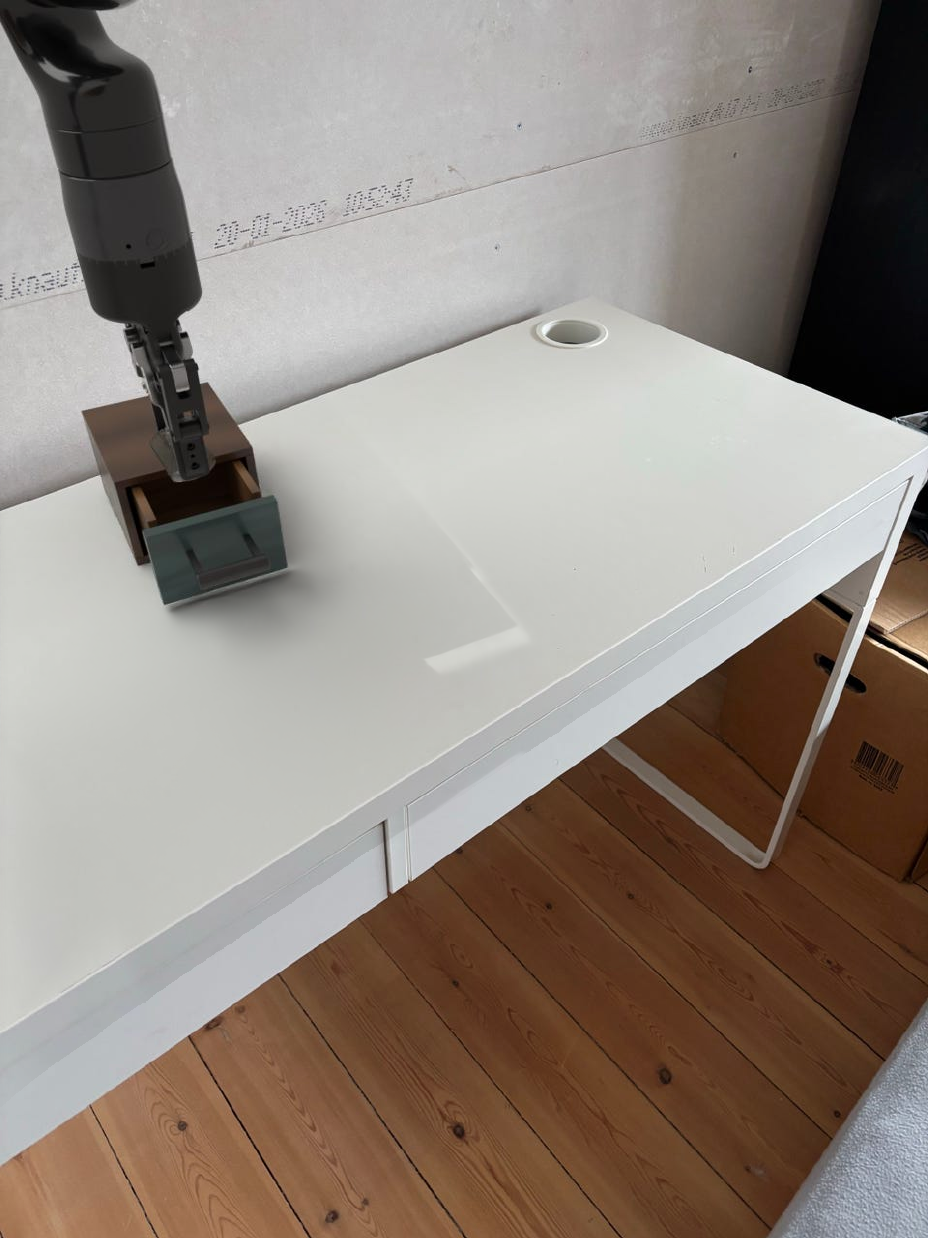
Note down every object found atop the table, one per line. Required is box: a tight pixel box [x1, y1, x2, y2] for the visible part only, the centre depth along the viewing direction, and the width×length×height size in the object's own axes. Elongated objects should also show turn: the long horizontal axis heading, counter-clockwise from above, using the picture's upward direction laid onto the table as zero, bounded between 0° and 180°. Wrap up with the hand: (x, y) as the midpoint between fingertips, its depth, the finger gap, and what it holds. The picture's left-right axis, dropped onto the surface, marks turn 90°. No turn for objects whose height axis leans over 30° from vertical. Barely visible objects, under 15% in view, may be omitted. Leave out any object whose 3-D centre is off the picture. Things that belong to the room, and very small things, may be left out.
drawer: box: [126, 458, 289, 606], centre depth 88 cm, size 18×11×7 cm, turn 27°
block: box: [149, 428, 216, 482], centre depth 75 cm, size 4×6×2 cm, turn 38°
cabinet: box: [80, 381, 261, 566], centre depth 95 cm, size 15×13×9 cm
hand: (183, 454), depth 76 cm, fingers closed on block, 6 cm apart
